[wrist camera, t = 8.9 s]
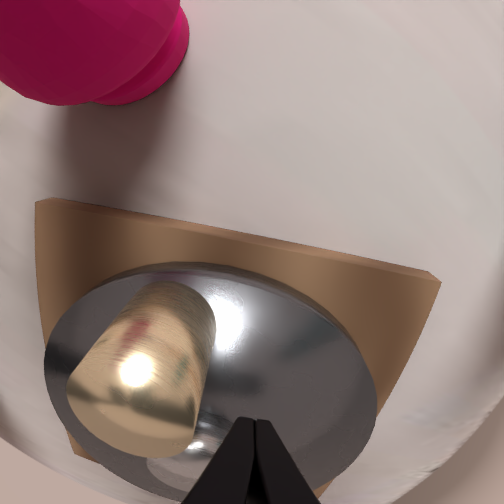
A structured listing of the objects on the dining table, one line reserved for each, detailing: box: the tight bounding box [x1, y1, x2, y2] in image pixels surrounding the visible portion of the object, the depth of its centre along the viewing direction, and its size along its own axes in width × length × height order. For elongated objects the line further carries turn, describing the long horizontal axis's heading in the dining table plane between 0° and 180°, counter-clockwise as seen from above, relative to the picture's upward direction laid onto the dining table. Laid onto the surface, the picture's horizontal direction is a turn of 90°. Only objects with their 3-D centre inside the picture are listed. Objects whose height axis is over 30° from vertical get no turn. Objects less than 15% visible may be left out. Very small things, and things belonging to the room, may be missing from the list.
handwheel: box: [44, 261, 377, 502], centre depth 12 cm, size 18×18×7 cm
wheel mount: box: [35, 198, 442, 499], centre depth 16 cm, size 20×20×2 cm
